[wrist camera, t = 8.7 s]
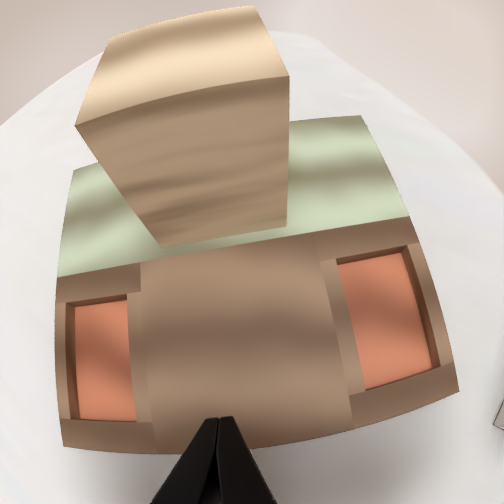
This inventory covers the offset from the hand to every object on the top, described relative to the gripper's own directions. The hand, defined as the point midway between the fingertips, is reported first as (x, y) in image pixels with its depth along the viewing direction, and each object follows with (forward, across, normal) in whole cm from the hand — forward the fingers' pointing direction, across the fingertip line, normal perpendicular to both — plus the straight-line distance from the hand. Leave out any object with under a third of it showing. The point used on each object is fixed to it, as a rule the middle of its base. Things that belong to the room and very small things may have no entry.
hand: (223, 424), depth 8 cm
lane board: (+13, 0, 0) cm, 13 cm away
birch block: (+16, 0, -5) cm, 16 cm away
